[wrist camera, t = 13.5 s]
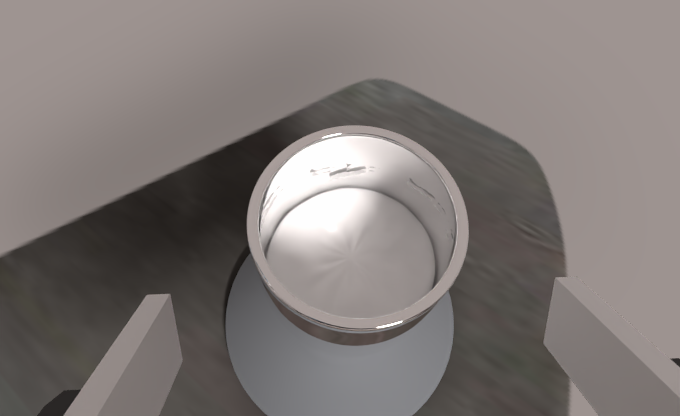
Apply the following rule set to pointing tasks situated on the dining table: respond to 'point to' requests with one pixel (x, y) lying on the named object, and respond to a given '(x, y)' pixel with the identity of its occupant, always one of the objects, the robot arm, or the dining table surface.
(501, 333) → the dining table surface
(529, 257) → the dining table surface
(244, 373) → the mat
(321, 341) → the beer glass
